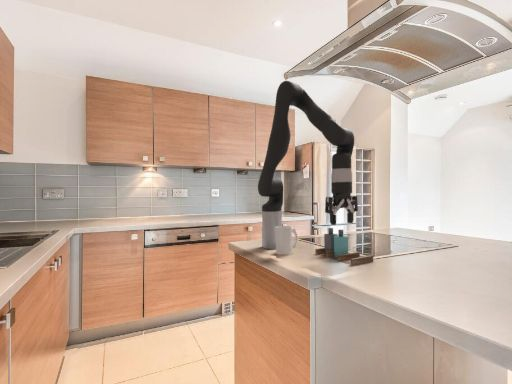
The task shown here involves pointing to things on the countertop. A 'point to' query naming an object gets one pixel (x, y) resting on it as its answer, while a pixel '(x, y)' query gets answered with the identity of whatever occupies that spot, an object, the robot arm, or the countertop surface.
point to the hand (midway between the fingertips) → (341, 223)
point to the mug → (285, 240)
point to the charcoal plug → (329, 240)
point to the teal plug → (340, 244)
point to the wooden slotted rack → (345, 257)
